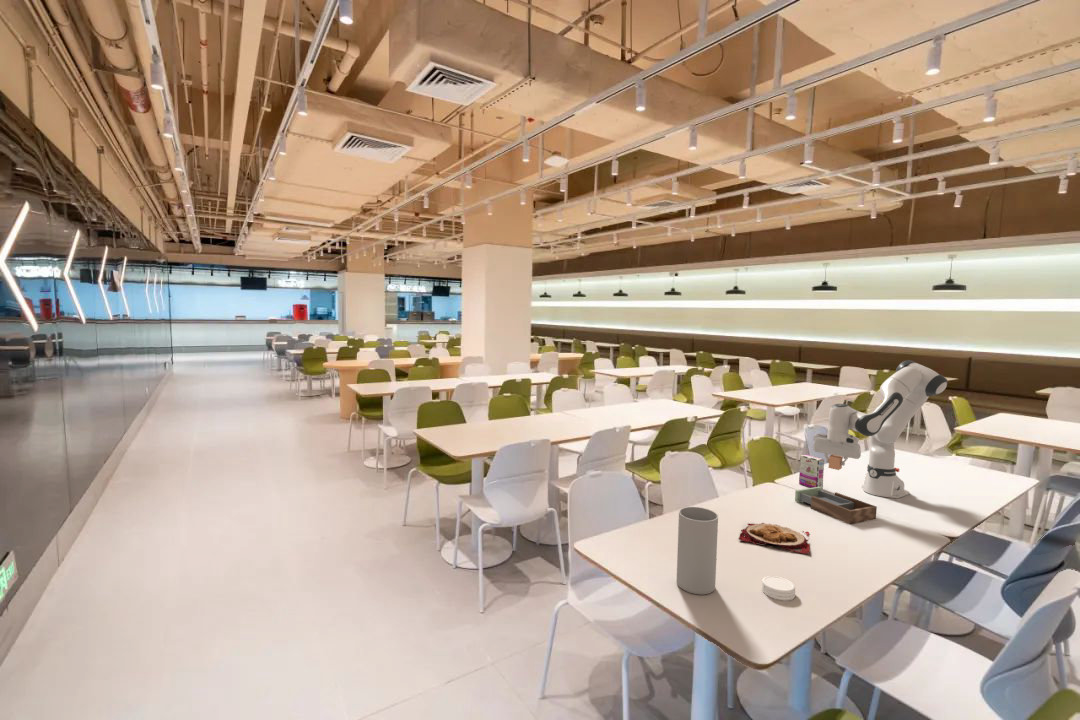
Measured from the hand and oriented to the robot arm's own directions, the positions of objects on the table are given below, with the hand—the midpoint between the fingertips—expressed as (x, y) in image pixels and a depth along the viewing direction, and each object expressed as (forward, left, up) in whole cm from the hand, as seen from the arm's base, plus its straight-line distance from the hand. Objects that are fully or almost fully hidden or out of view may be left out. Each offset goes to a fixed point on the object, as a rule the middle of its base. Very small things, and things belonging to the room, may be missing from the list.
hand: (835, 463), depth 246 cm
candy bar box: (-10, -21, -20) cm, 31 cm away
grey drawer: (+10, +3, -19) cm, 22 cm away
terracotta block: (0, 0, -2) cm, 2 cm away
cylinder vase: (+117, +41, -20) cm, 125 cm away
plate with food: (+61, +21, -20) cm, 67 cm away
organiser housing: (+10, +13, -20) cm, 25 cm away
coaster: (+94, +54, -20) cm, 110 cm away
